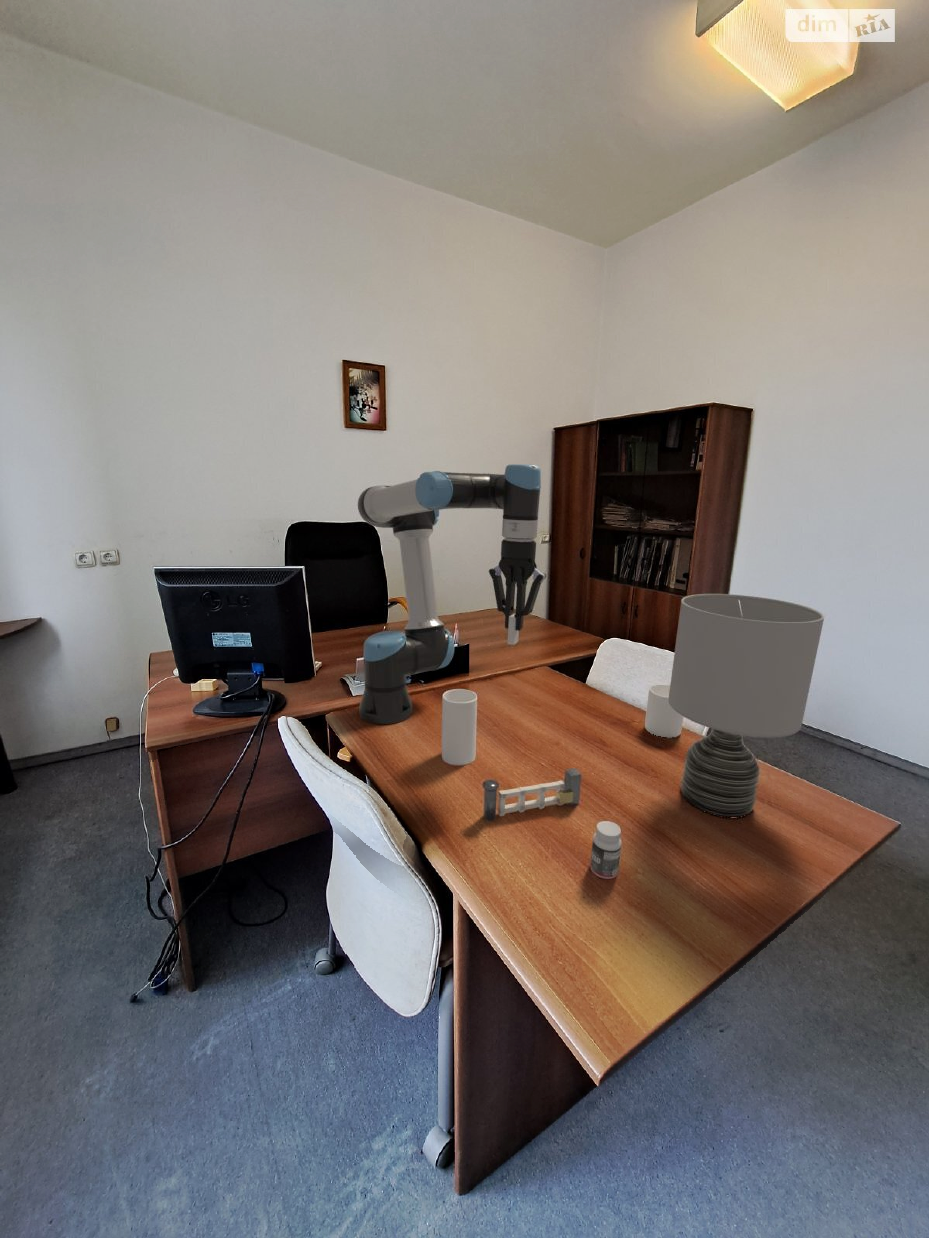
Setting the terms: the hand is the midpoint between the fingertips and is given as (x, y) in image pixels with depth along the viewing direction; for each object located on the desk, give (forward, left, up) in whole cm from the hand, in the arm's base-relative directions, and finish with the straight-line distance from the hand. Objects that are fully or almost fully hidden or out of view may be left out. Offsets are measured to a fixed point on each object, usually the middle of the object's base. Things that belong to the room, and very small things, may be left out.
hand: (512, 642), depth 115 cm
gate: (+20, -3, -29) cm, 36 cm away
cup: (-4, -11, -30) cm, 32 cm away
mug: (-3, +47, -30) cm, 55 cm away
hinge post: (+20, -12, -29) cm, 38 cm away
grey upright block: (+20, +5, -29) cm, 36 cm away
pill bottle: (+39, +2, -30) cm, 49 cm away
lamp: (+28, +37, -30) cm, 55 cm away
